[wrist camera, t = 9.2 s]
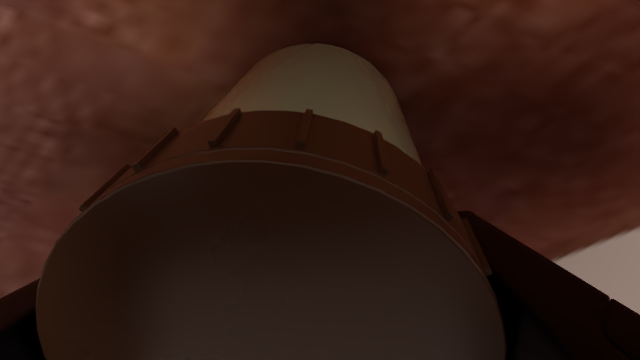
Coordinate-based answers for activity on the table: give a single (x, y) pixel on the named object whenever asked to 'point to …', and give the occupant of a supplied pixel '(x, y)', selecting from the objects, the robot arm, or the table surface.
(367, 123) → the jar
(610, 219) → the table surface
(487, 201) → the table surface
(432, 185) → the lid
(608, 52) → the table surface
